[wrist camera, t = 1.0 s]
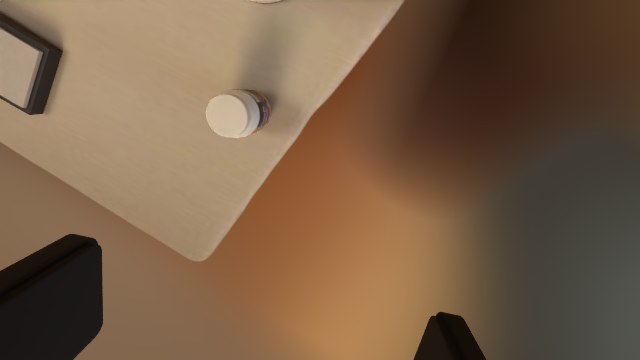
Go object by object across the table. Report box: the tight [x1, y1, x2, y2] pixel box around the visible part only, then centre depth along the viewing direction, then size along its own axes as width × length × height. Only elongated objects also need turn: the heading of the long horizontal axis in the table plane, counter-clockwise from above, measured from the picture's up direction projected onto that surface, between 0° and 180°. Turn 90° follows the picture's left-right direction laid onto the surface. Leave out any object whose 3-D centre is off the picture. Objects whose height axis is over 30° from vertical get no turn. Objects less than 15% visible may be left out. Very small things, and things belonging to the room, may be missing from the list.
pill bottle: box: [206, 89, 271, 138], centre depth 37 cm, size 6×6×10 cm
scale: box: [0, 14, 63, 115], centre depth 40 cm, size 10×10×3 cm
